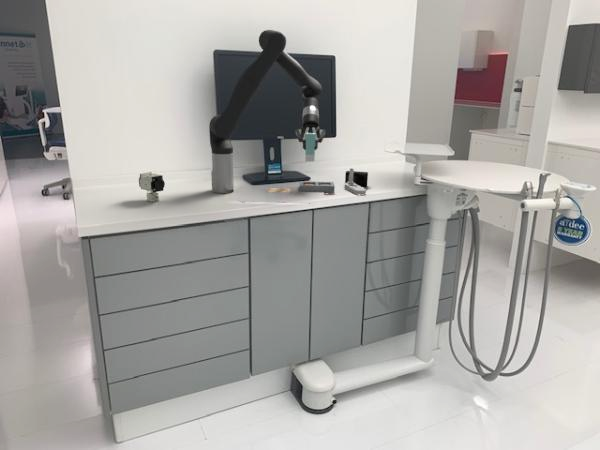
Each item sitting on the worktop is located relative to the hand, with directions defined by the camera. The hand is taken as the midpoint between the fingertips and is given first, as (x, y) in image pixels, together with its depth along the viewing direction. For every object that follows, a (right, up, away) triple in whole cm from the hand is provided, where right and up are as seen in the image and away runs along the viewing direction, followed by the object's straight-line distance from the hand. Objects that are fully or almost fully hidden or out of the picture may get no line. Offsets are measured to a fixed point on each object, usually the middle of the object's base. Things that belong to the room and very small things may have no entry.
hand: (310, 148), depth 211 cm
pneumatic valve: (-65, -24, -15) cm, 71 cm away
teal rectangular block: (0, -5, +4) cm, 6 cm away
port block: (+3, -18, +8) cm, 20 cm away
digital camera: (+22, -15, +19) cm, 33 cm away
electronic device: (+21, -19, +9) cm, 29 cm away
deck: (-14, -19, +4) cm, 24 cm away
